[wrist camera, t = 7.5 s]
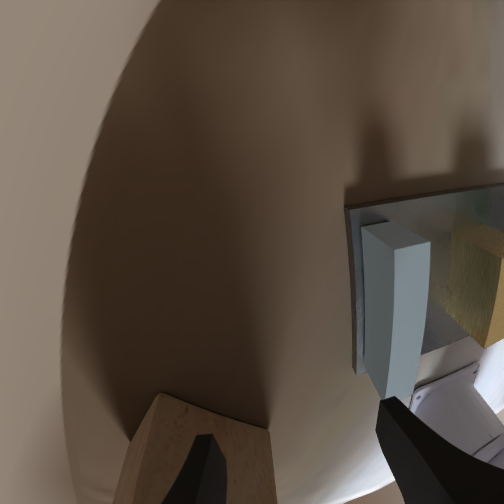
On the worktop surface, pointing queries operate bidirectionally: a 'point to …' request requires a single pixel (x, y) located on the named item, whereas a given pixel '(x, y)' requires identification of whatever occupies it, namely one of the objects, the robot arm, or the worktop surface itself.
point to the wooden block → (178, 446)
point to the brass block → (477, 283)
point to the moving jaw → (394, 305)
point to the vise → (439, 234)
